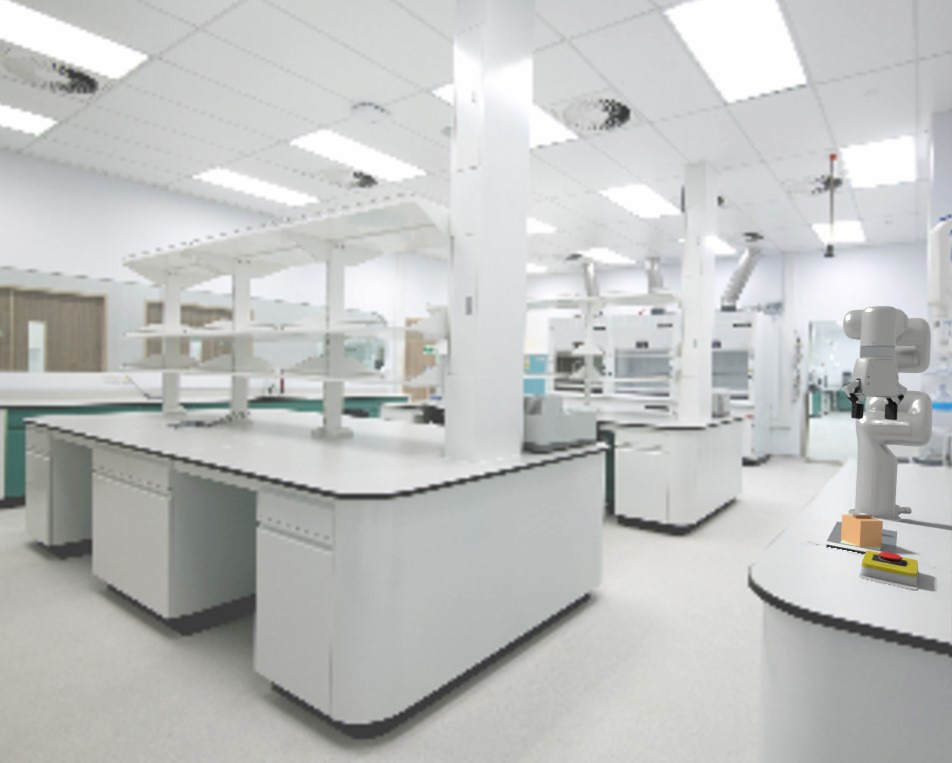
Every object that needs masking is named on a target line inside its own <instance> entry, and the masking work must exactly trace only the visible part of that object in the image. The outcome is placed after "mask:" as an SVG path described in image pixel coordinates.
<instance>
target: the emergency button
mask: <svg viewBox="0 0 952 763" xmlns="http://www.w3.org/2000/svg"><path fill="white" fill-rule="evenodd" d="M865 552H866V553H865V555H864V554H863V558H862V561H861V566H860V573H859V576H858V577H860V578H859V579H861V578H862V579H861V580H864V579H866V581H869V580H871V581H870V582H873V581H875V583H877V584H878V583H879V584H882V583H883V584H882V585H886V584H888V586H891V585H893V586H892V587H895V586H897V587H896V588H900V587H901V588H900V589H904V588H905V589H906V590H909V589H910V590H911V591H918V584H919V562H918V561H919V560H916V559H913V558H908V557H904V556H901V555H899V554H896V553H895V554H894V553H888V552H881V551H874V550H866V551H865Z"/></svg>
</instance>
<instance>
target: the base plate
mask: <svg viewBox="0 0 952 763" xmlns="http://www.w3.org/2000/svg"><path fill="white" fill-rule="evenodd" d="M860 514H865V513H860ZM869 515H870V514H869ZM841 528H842V521H836V522H835V525H834V527H833V528H832V530H831V532H830V534H829V536H828V537H827V539H826V542H830V543H836V544H840V545H845V546H849V547H855V548H861V549H867V550H870V551H875V552H888V553H894V554H896V547H897V546H896V545H897V537H898V536H897V534H898V531H897V530H896V531H895V530H890V529H885V528H883V529H882V547H859V546H857V545H854V544H852V543H849V542H847V541H844V540H842V539H841ZM825 547H826V548H828V547H831V548H830V549H833V548H837V549H836V550H838V549H842V550H841V551H843V550H847V551H846V552H848V551H852V552H851V553H853V552H857V553H856V554H859V553H861V554H860V555H864V554H865V553H866V551H864V550H863V551H862V550H860V549H854V548H847V547H843V546H838V545H837V546H836V545H832V544H826V546H825Z"/></svg>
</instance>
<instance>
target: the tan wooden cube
mask: <svg viewBox="0 0 952 763" xmlns="http://www.w3.org/2000/svg"><path fill="white" fill-rule="evenodd" d="M871 516H872V515H869V514H853V515H852V514H841V522H842V528H841V539H842V540H844V541H847V542H849V543H852V544H854V545H857V546H859V547H858V548H860V547H882V529H884V528H883V526H884V520H882V519H877V518H872V517H871Z"/></svg>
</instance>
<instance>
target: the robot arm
mask: <svg viewBox="0 0 952 763" xmlns="http://www.w3.org/2000/svg"><path fill="white" fill-rule="evenodd" d="M842 322H843V323H842V327H843V328H842V329H843V332H844V334H845V336H846V338H848V339H851V340H857V341H859V342H860V343H859V344H860V345H859V346H860V347H859V358H856V360H855V363H854V367H853V370H852V375H851V376H852V377H851V382H850V383H848V384H845V385H844V386H843V390H844V393H845V397H846V398H847V399H848V400H849V401H848V402H849V403H850V404H851V413H850V414H851V416H850V417H851V419H855V430H856V431H855V432H856V439H857V440H856V441H857V458H856V459H857V460H856V462H857V464H856V482H855V498H854V499H855V503H854V508H850V509H849V510H848V515H853V514H860V513H865V514H870V515H872V516H871V517H872V518H875V519H878V520H882V521H891V522H897V523H902V517H901V516H899V515H901V514H904V515H908V514H909V515H911V514H912V512H913V511H912V508H911V507H910V506H900V505H899V504H896V503H897V502H896V501H897V483H898V481H897V480H898V465H899V462H898V459H897V457H896V455H895V453H894V452H893V451H892V450H891V449H889V447H888V445H889V446H891V445H892V446H894V445H895V446H903V447H904V446H905V447H917V448H918V447H924V446H927V445H928V444H929V443H930V442H931V439H932V433H933V403H932V399H931V397H930V396H929V394H927V393H926V392H925V391H920V390H908V388H907V387H905V386H904V385H902V384H900V382H899V381H900V380H899V379H900V378H899V373H900V374H901V373H903V374H921V373H924V372H925V371H927V370H928V369H929V367H930V363H931V344H932V343H931V340H932V339H931V338H932V336H931V335H932V334H931V332H932V331H931V326H930V325H929V322H928V321H927V320H926V319H925V318H921V317H908V315H907V314H906V312H905V311H903V310H902V309H900V308H895V307H894V306H890V305H888V306H887V305H876V306H875V305H874V306H868V307H865V308H864V309H853V310H849V311H847V313H846V314H845V315H844V317H843V320H842ZM864 400H865V403H863V402H864ZM864 404H865V405H864ZM864 406H865V407H864ZM864 408H865V411H864Z"/></svg>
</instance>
